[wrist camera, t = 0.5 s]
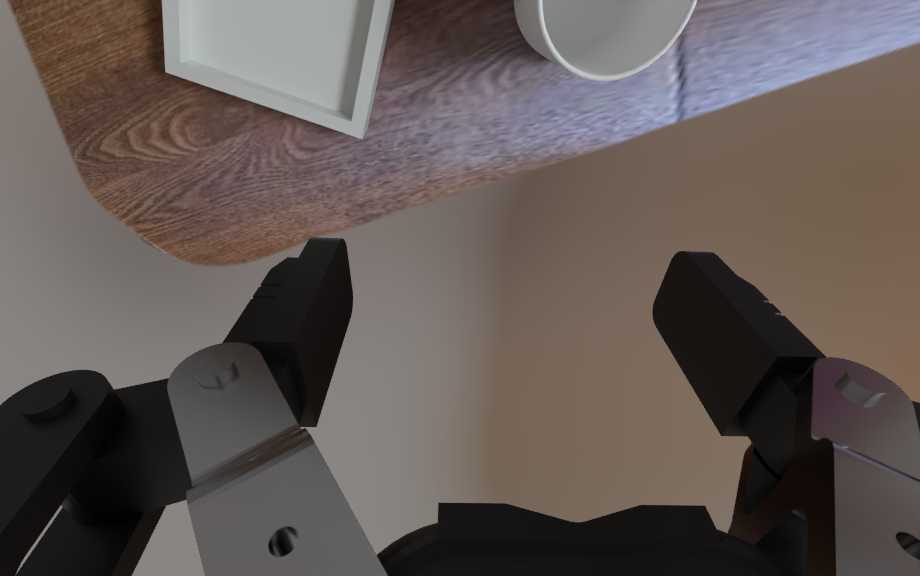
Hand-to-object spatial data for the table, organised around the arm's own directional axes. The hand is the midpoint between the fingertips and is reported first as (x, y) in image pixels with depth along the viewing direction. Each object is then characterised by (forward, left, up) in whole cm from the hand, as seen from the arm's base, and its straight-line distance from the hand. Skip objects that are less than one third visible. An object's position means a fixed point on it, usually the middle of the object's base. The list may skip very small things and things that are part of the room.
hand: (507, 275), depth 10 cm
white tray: (-1, -14, -27) cm, 30 cm away
